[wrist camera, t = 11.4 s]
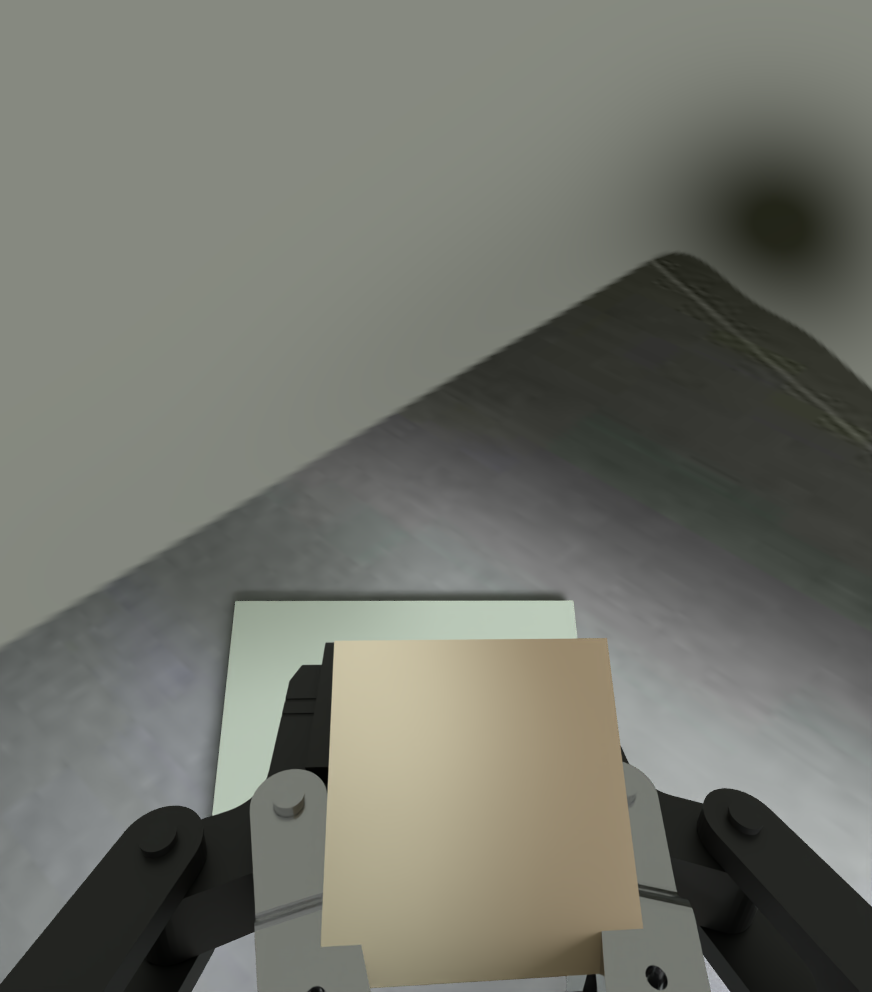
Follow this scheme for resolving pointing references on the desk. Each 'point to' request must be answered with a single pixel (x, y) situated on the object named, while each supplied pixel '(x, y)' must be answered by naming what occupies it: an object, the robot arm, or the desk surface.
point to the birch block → (475, 810)
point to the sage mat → (301, 641)
